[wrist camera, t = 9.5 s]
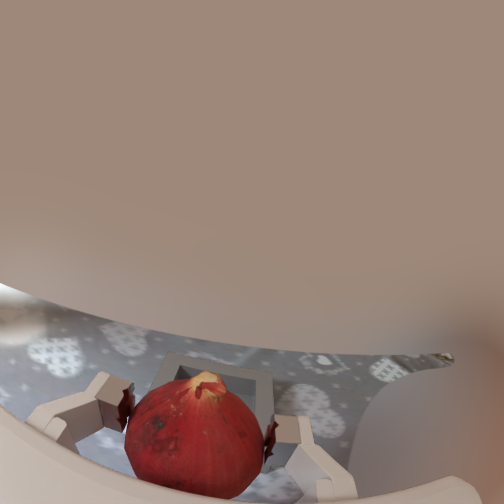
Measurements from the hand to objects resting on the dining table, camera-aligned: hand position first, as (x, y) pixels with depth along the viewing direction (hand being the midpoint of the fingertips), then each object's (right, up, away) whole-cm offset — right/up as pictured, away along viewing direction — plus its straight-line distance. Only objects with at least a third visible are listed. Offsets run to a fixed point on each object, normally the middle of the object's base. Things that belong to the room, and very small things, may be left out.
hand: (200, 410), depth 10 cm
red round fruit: (-1, -5, 0) cm, 5 cm away
